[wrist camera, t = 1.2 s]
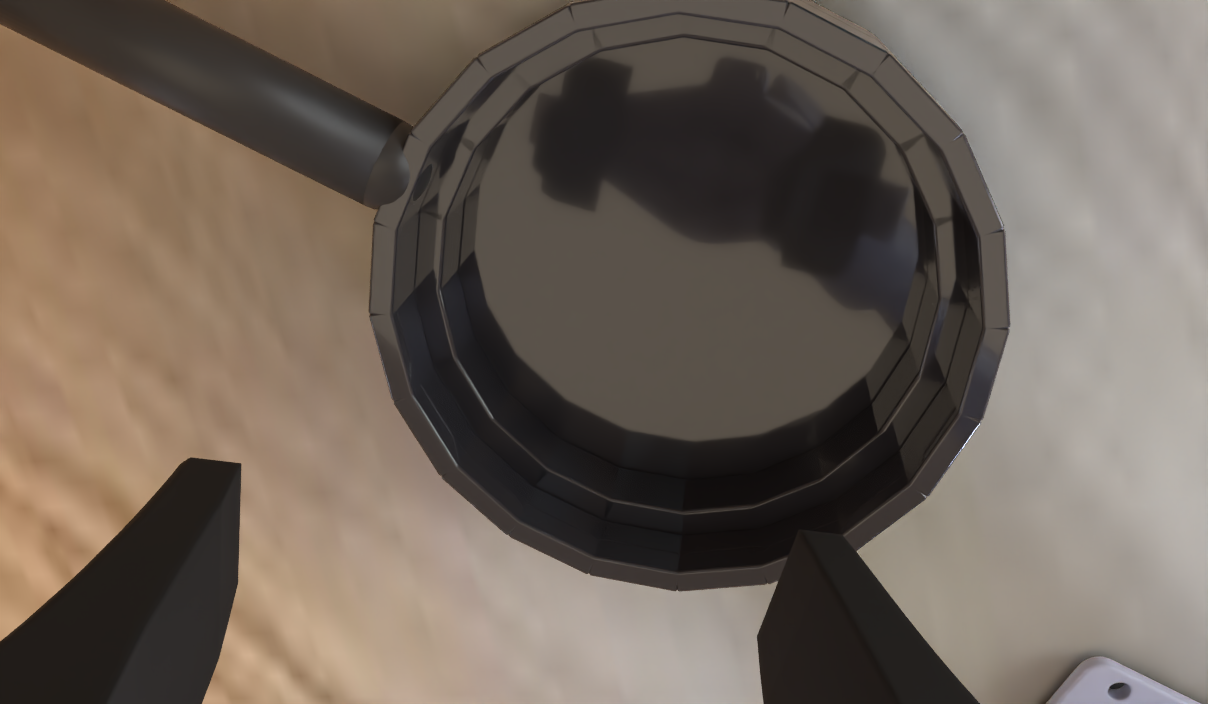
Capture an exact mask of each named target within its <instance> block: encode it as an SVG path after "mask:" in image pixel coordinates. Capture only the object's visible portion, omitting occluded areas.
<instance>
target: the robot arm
mask: <svg viewBox="0 0 1208 704" xmlns="http://www.w3.org/2000/svg"><path fill="white" fill-rule="evenodd" d="M240 491H241V463H233V462H224V461H216V460H207V459H199V458H189V459H187V460H186V461H184V462H183V463H181V464H180V465H179V466H178V468H177V469H176V470H175V471H174V472H173V474H172V475H171V476H170V477H169V478H168V480H167V481H166V482H165V483H164V484H163V485H162V487H161V488H160V489H159V490H158V491H157V492H156V494H155V495H154V496H153V497H152V498H151V499H150V500H149V501H148V502H147V504H146V505H145V506H144V507H143V508H142V509H141V510H140V511H139V512H138V513H137V514H136V516H135V517H134V518H133V519H132V520H131V521H130V522H129V523H128V524H127V525H126V526H125V527H124V528H123V529H122V530H121V531H120V532H119V533H118V534H117V535H116V536H115V537H114V538H113V539H112V540H111V541H110V542H109V543H108V544H107V545H106V546H105V547H104V548H103V549H102V550H101V551H100V552H99V553H98V554H97V555H96V556H95V557H94V558H93V559H92V560H91V561H90V562H89V563H88V564H87V565H86V566H85V567H84V568H83V569H82V570H81V571H80V572H79V573H78V574H77V575H76V576H75V577H74V578H73V579H72V580H71V581H70V582H68V583H67V584H66V585H65V586H64V587H63V588H62V589H61V590H59V591H58V592H57V593H56V594H55V595H54V596H53V597H52V598H51V599H49V600H48V601H47V602H46V603H45V604H44V605H43V606H42V607H40V608H39V609H38V610H37V611H36V612H35V613H34V614H33V615H31V616H30V617H29V618H28V619H27V620H26V621H25V622H23V623H22V624H21V625H20V626H19V627H17V628H16V629H15V630H14V631H13V632H11V633H10V634H9V635H8V636H7V637H5V638H4V639H3V640H2V641H0V704H202V702H203V699H204V696H205V694H206V691H207V688H208V686H209V683H210V680H211V678H212V675H213V672H214V670H215V667H216V664H217V662H218V659H219V656H220V652H221V648H222V644H223V640H224V637H225V633H226V629H227V625H228V621H229V617H230V613H231V609H232V605H233V601H234V597H235V593H236V589H237V585H238V562H239V527H240ZM757 641H758V652H759V664H760V675H761V684H762V693H763V702H764V704H980V703H979V702H978V701H977V700H976V699H975V698H974V697H973V695H972V694H971V693H970V692H969V691H968V690H967V689H966V688H965V687H964V686H963V684H962V683H961V682H960V681H959V680H958V679H957V678H956V676H955V675H954V674H953V673H952V672H951V671H950V669H949V668H948V667H947V666H946V665H945V664H944V662H943V661H942V660H941V659H940V658H939V656H938V655H937V654H936V653H935V652H934V650H933V649H932V648H931V647H930V646H929V644H928V643H927V642H926V641H925V639H924V638H923V637H922V636H921V634H920V633H919V632H918V631H917V629H916V628H915V627H914V626H913V624H912V623H911V622H910V621H909V619H908V618H907V617H906V616H905V614H904V613H903V612H902V611H901V609H900V608H899V607H898V605H897V604H896V603H895V601H894V600H893V599H892V598H891V596H890V595H889V594H888V592H887V591H886V590H885V589H884V587H883V586H882V585H881V583H880V582H879V581H878V579H877V578H876V577H875V576H874V574H873V573H872V572H871V570H870V569H869V568H868V566H867V565H866V564H865V562H864V561H863V560H862V559H861V557H860V556H859V555H858V553H857V552H856V551H855V550H854V548H853V547H852V546H851V545H850V543H849V542H848V541H847V540H846V538H845V537H844V536H843V535H842V534H833V533H825V532H816V531H808V530H798V533H797V535H796V538H795V541H794V543H793V546H792V548H791V551H790V553H789V556H788V558H787V561H786V564H785V566H784V569H783V571H782V574H781V576H780V579H779V581H778V584H777V587H776V589H775V592H774V594H773V597H772V599H771V602H770V605H769V607H768V610H767V612H766V615H765V617H764V620H763V622H762V625H761V628H760V630H759V633H758V635H757ZM1119 682H1122V683H1125V684H1124V686H1122V687H1121V688H1119V689H1114V690H1113V689H1109V687H1110V686H1111V685H1113V684H1114V683H1119ZM1046 704H1201V703H1199V702H1197V701H1195V700H1193V699H1191V698H1189V697H1187V696H1185V695H1183V694H1181V693H1178V692H1176V691H1174V690H1172V689H1170V688H1168V687H1166V686H1164V685H1162V684H1160V683H1158V682H1156V681H1154V680H1152V679H1150V678H1148V677H1146V676H1144V675H1142V674H1140V673H1138V672H1136V671H1134V670H1132V669H1130V668H1128V667H1126V666H1124V665H1122V664H1120V663H1118V662H1116V661H1114V660H1112V659H1109V658H1106V657H1102V656H1097V657H1091V658H1088V659H1085V660H1084V661H1083V662H1082V663H1080V664H1079V665H1078V666H1077V668H1076V669H1075V670H1074V671H1073V672H1072V673H1071V675H1070V676H1069V677H1068V678H1067V679H1066V681H1065V682H1064V683H1063V684H1062V685H1061V686H1060V688H1059V689H1058V690H1057V691H1056V692H1055V693H1054V695H1053V696H1052V697H1051V698H1050V699H1049V700H1048V702H1047V703H1046Z"/></svg>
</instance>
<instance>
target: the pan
mask: <svg viewBox="0 0 1208 704" xmlns="http://www.w3.org/2000/svg"><path fill="white" fill-rule="evenodd" d="M402 151H403V154H404V156H405V158H406V160H407V162H408V165H409V171H410V179H409V184H408V187H407V189H406V191H405V192H404V194H403V195H402V196H401V197H400V198H399V199H397V200H396V201H394V202H393V203H390V204H385V205H382V206H379V208H378V210H377V213H376V215H375V218H374V224H373V237H372V257H371V276H370V296H369V313H370V316H369V317H370V321H371V324H372V328H373V332H374V335H375V339H376V343H377V346H378V350H379V354H380V357H381V361H382V365H383V368H384V372H385V376H386V379H387V383H388V387H389V390H390V394H391V398H392V400H394V405H395V406H396V408H397V409H398V411H399V412H400V414H401V416H402V417H403V419H404V420H405V422H406V423H407V425H408V427H409V428H410V430H411V431H412V433H413V434H414V436H415V438H416V439H417V441H418V442H419V444H420V445H421V447H422V448H423V450H424V452H425V453H426V455H427V456H428V458H429V459H430V461H431V463H432V464H433V466H434V467H435V469H436V470H437V472H438V474H439V475H440V476H442V479H443V480H445V481H446V482H447V483H448V484H449V485H450V486H451V487H453V488H454V489H455V490H456V491H457V492H458V493H459V494H461V495H462V496H463V497H464V498H465V499H466V500H467V501H469V502H470V503H471V504H472V505H473V506H474V507H475V508H476V509H478V510H479V511H480V512H481V513H482V514H483V515H484V516H486V517H487V518H488V519H489V520H490V521H491V522H492V523H494V524H495V525H496V526H497V527H498V528H499V529H500V530H502V531H503V532H504V533H505V534H506V535H508V534H509V536H510V537H511V538H513V539H515V540H517V541H519V542H521V543H524V544H526V545H528V546H530V547H532V548H534V549H536V550H538V551H540V552H542V553H544V554H546V555H548V556H550V557H552V558H555V559H557V560H559V561H561V562H563V563H565V564H567V565H569V566H571V567H573V568H575V569H577V570H579V571H581V572H584V573H586V574H588V573H589V574H590V575H592V576H597V577H602V578H608V579H613V580H618V581H624V582H629V583H634V584H639V585H645V586H650V587H655V588H661V589H666V590H671V591H676V590H678V591H691V590H704V589H716V588H729V587H741V586H754V585H765V584H767V583H768V584H771V583H773V582H776V581H779V579H780V576H781V574H782V571H783V569H784V566H785V564H786V561H787V558H788V556H789V553H790V551H791V548H792V546H793V543H794V541H795V538H796V535H797V533H798V530H808V531H816V532H825V533H833V534H842V535H843V536H844V537H845V538H846V540H847V541H848V542H849V543H850V545H851V546H852V547H853V548H854V550H855V551H857V550H858V549H859V548H861V547H862V546H863V545H865V544H866V543H868V542H869V541H870V540H872V539H873V538H874V537H876V536H877V535H878V534H880V533H881V532H882V531H884V530H885V529H886V528H888V527H889V526H890V525H892V524H893V523H894V522H896V521H897V520H898V519H900V518H901V517H902V516H904V515H905V514H906V513H908V512H909V511H910V510H912V509H913V508H914V507H916V506H917V505H918V504H920V503H921V502H922V501H924V500H925V499H926V498H927V496H929V495H930V494H931V492H932V491H933V489H934V488H935V487H936V485H937V484H938V482H939V481H940V480H941V478H942V477H943V475H944V474H945V473H946V471H947V470H948V468H949V467H950V466H951V464H952V463H953V461H954V460H955V459H956V457H957V456H958V454H959V453H960V452H961V450H962V449H963V447H964V446H965V445H966V443H967V442H968V440H969V439H970V438H971V436H972V435H973V433H974V432H975V431H976V429H977V428H978V426H979V425H980V424H981V420H982V419H983V418H984V415H985V411H986V408H987V405H988V401H989V398H990V395H991V391H992V388H993V385H994V381H995V378H996V375H997V371H998V368H999V365H1000V361H1001V358H1002V355H1003V351H1004V348H1005V345H1006V341H1007V338H1008V335H1009V327H1010V310H1009V292H1008V273H1007V254H1006V235H1005V230H1004V229H1003V228H1004V225H1003V222H1002V220H1001V218H1000V215H999V213H998V211H997V208H996V206H995V203H994V201H993V199H992V196H991V194H990V192H989V189H988V187H987V185H986V182H985V180H984V178H983V175H982V173H981V171H980V168H979V166H978V164H977V161H976V159H975V157H974V154H973V152H972V150H971V147H970V145H969V143H968V140H967V138H966V136H965V134H964V133H963V131H962V129H961V128H960V127H959V126H958V125H957V124H956V123H955V121H954V120H953V119H952V118H951V117H950V116H949V115H948V114H947V112H946V111H945V110H944V109H943V108H942V107H941V106H940V104H939V103H938V102H937V101H936V100H935V99H934V98H933V97H932V96H931V95H930V93H929V92H928V91H927V90H926V89H925V88H924V87H923V86H922V85H921V84H920V83H919V82H918V81H917V80H916V78H915V77H914V76H913V75H912V74H911V73H910V72H909V71H908V70H907V69H906V68H905V67H904V66H903V65H902V63H901V62H900V61H899V60H898V59H897V58H896V57H895V56H894V55H893V54H892V53H891V52H890V51H889V50H888V48H887V47H886V46H885V45H884V44H883V43H882V42H881V41H880V40H879V39H878V38H877V37H876V36H875V35H873V34H872V33H871V32H870V31H868V30H866V29H865V28H863V27H861V26H859V25H857V24H855V23H853V22H851V21H849V20H847V19H845V18H844V17H842V16H840V15H838V14H836V13H834V12H832V11H830V10H828V9H826V8H824V7H822V6H821V5H819V4H817V3H815V2H813V1H811V0H574V1H572V2H570V3H569V4H567V5H565V6H563V7H562V8H560V9H558V10H556V11H554V12H553V13H551V14H549V15H547V16H546V17H544V18H542V19H540V20H538V21H537V22H535V23H533V24H531V25H530V26H528V27H526V28H524V29H523V30H521V31H519V32H517V33H515V34H514V35H512V36H510V37H508V38H507V39H505V40H503V41H501V42H500V43H498V44H496V45H494V46H492V47H491V48H489V49H487V50H485V51H484V52H482V53H480V54H479V55H478V56H477V57H475V58H474V59H473V60H472V61H471V62H470V63H469V64H468V65H467V67H466V68H465V69H464V70H463V71H462V72H461V73H460V75H459V76H458V77H457V78H456V79H455V80H454V81H453V83H452V84H451V85H450V86H449V87H448V88H447V89H446V90H445V92H444V93H443V94H442V95H441V96H440V97H439V98H438V100H437V101H436V102H435V103H434V104H433V105H432V106H431V108H430V109H429V110H428V111H427V112H426V113H425V114H424V116H423V117H422V118H421V119H420V120H419V121H418V122H417V124H416V125H415V126H414V127H413V128H412V129H411V132H410V133H409V134H408V136H407V138H406V141H405V143H404V146H403V149H402ZM430 164H432V173H431V178H430V181H429V184H428V186H427V188H426V189H425V191H424V192H423V193H422V194H421V196H420V197H419V198H418V199H417V200H415V201H413V197H414V194H415V191H416V188H417V186H418V184H419V182H420V180H421V178H422V176H423V174H424V172H425V171H426V169H427V168H428V166H429V165H430Z"/></svg>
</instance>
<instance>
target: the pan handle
mask: <svg viewBox="0 0 1208 704" xmlns="http://www.w3.org/2000/svg"><path fill="white" fill-rule="evenodd" d="M0 24H1V25H3V26H5V27H7V28H9V29H11V30H13V31H15V32H17V33H19V34H21V35H23V36H25V37H27V38H29V39H31V40H33V41H35V42H37V43H39V44H41V45H43V46H45V47H47V48H49V49H51V50H53V51H55V52H57V53H59V54H61V55H63V56H65V57H67V58H69V59H71V60H73V61H75V62H77V63H79V64H81V65H84V66H86V67H88V68H90V69H92V70H94V71H96V72H98V73H100V74H102V75H104V76H106V77H108V78H110V79H112V80H114V81H116V82H118V83H120V84H122V85H124V86H126V87H128V88H130V89H132V90H134V91H136V92H138V93H140V94H142V95H144V96H146V97H148V98H150V99H152V100H154V101H156V102H158V103H160V104H162V105H164V106H166V107H168V108H170V109H172V110H174V111H176V112H178V113H180V114H182V115H184V116H186V117H188V118H190V119H192V120H194V121H196V122H198V123H200V124H202V125H204V126H206V127H208V128H210V129H212V130H214V131H216V132H218V133H220V134H222V135H224V136H226V137H228V138H230V139H232V140H234V141H236V142H238V143H240V144H242V145H244V146H246V147H248V148H250V149H252V150H254V151H256V152H258V153H260V154H262V155H264V156H266V157H268V158H270V159H272V160H274V161H276V162H278V163H280V164H282V165H284V166H286V167H288V168H290V169H292V170H294V171H296V172H298V173H300V174H303V175H305V176H307V177H309V178H311V179H313V180H315V181H317V182H319V183H321V184H323V185H325V186H327V187H329V188H331V189H333V190H335V191H337V192H339V193H341V194H343V195H345V196H347V197H349V198H351V199H353V200H355V201H357V202H359V203H361V204H363V205H365V206H367V207H370V208H373V209H377V210H378V208H379V206H382V205H385V204H390V203H393V202H394V201H396V200H397V199H399V198H400V197H401V196H402V195H403V194H404V192H405V191H406V189H407V187H408V184H409V179H410V171H409V165H408V162H407V160H406V158H405V156H404V154H403V151H402V149H403V146H404V143H405V141H406V138H407V136H408V134H409V133H410V132H411V129H412V128H413V126H411V125H410V124H408V123H406V122H405V121H403V120H401V119H399V118H397V117H395V116H393V115H391V114H389V113H387V112H385V111H383V110H381V109H379V108H377V107H375V106H373V105H371V104H369V103H367V102H365V101H363V100H361V99H359V98H357V97H355V96H353V95H351V94H349V93H347V92H345V91H343V90H341V89H339V88H337V87H335V86H333V85H331V84H329V83H327V82H325V81H323V80H321V79H319V78H318V77H316V76H314V75H312V74H310V73H308V72H306V71H304V70H302V69H300V68H298V67H296V66H294V65H292V64H290V63H288V62H286V61H284V60H282V59H280V58H278V57H276V56H274V55H272V54H270V53H268V52H266V51H264V50H262V49H260V48H258V47H256V46H254V45H252V44H250V43H248V42H246V41H244V40H242V39H240V38H238V37H236V36H234V35H232V34H230V33H228V32H226V31H224V30H222V29H220V28H218V27H216V26H214V25H212V24H210V23H208V22H206V21H204V20H202V19H200V18H198V17H196V16H194V15H192V14H190V13H188V12H186V11H184V10H182V9H180V8H179V7H177V6H175V5H173V4H171V3H169V2H167V1H165V0H0ZM431 173H432V164H430V165H429V166H428V168H427V169H426V171H425V172H424V174H423V176H422V178H421V180H420V182H419V184H418V186H417V188H416V191H415V194H414V197H413V201H415V200H417V199H418V198H419V197H420V196H421V194H422V193H423V192H424V191H425V189H426V188H427V186H428V184H429V181H430V178H431Z"/></svg>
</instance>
